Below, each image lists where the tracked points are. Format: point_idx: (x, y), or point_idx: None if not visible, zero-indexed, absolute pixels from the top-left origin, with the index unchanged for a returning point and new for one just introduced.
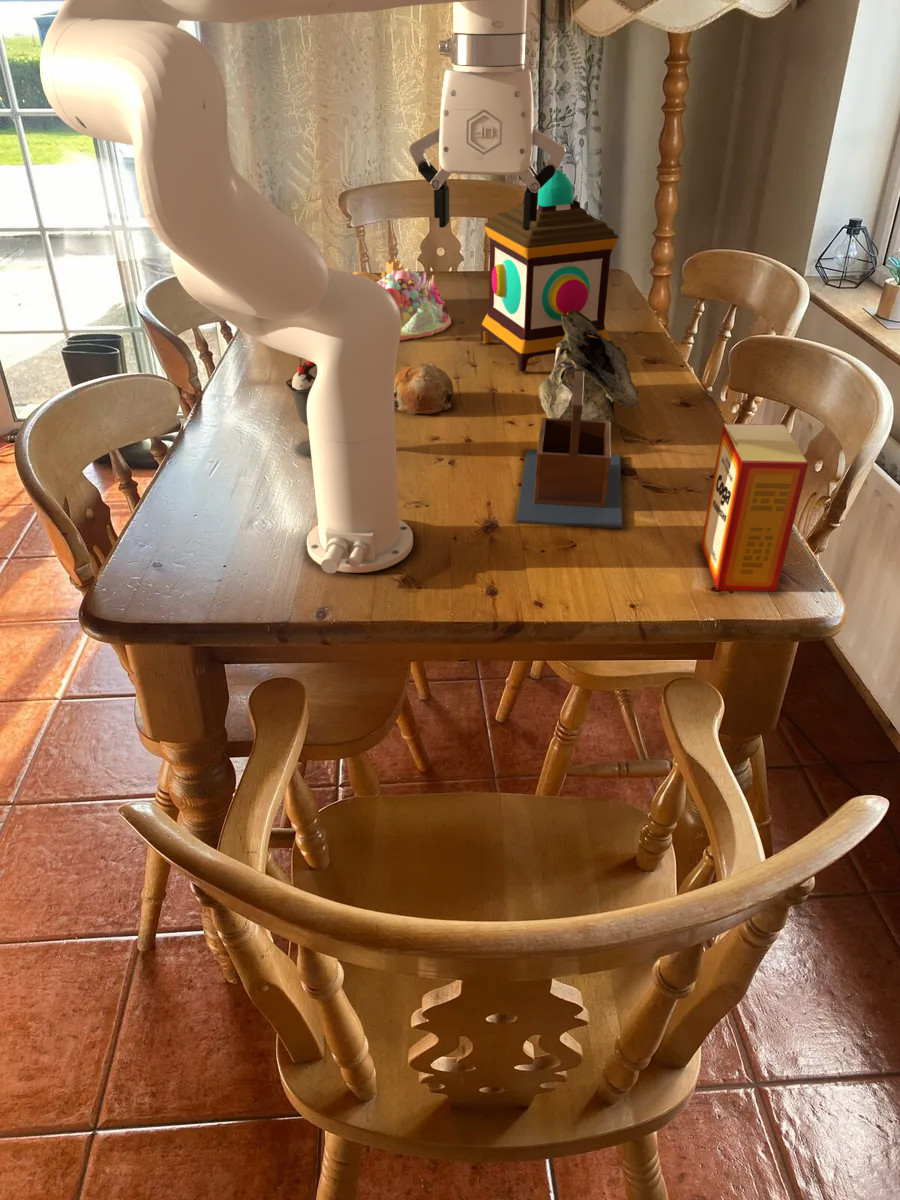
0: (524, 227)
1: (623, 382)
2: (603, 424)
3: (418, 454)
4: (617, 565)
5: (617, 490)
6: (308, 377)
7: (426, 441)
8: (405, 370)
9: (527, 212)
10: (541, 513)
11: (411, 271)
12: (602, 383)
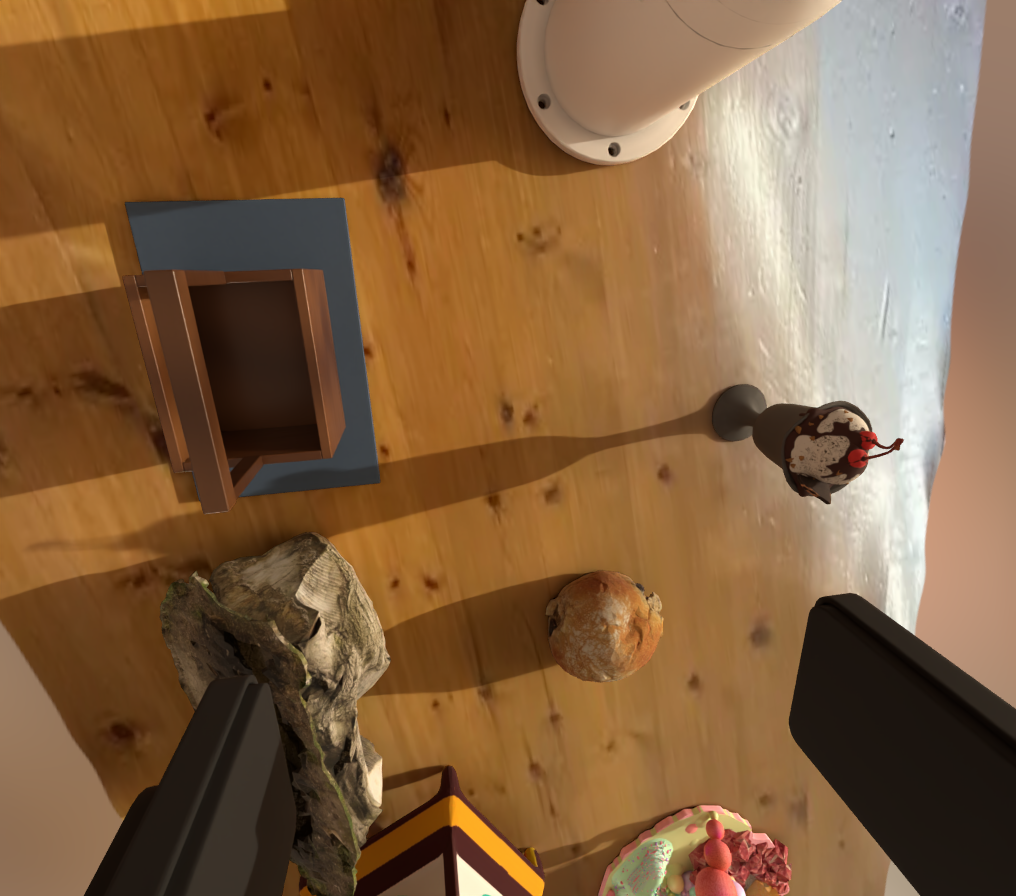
0: (250, 689)
1: None
2: (188, 460)
3: (569, 430)
4: (100, 43)
5: None
6: (842, 428)
7: (564, 481)
8: (645, 645)
9: (179, 791)
10: (300, 230)
11: None
12: (222, 624)
